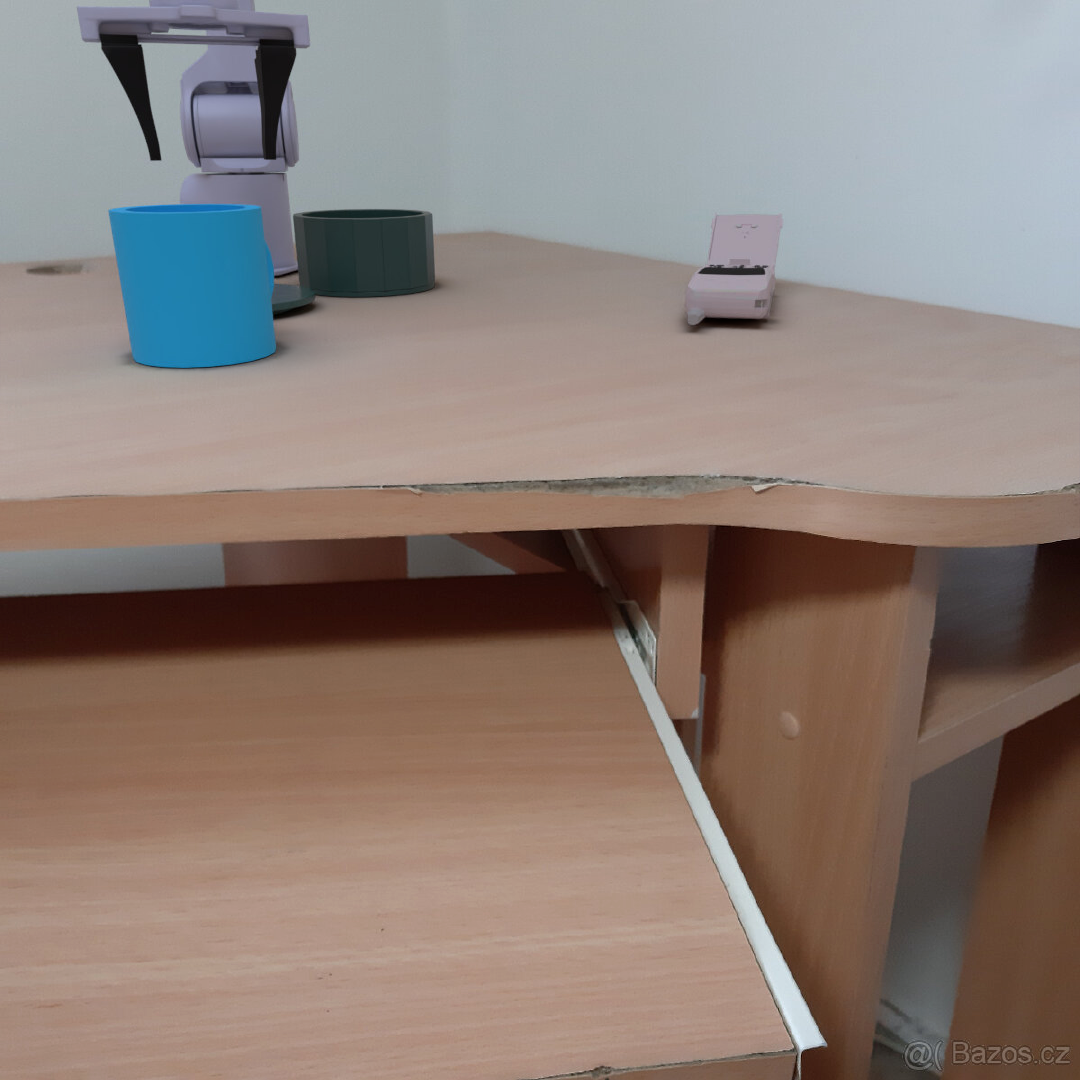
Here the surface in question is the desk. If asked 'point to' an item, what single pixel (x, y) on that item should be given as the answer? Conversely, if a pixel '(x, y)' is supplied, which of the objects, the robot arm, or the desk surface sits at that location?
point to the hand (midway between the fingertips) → (214, 160)
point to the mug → (195, 283)
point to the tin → (365, 251)
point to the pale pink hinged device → (736, 269)
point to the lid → (290, 297)
